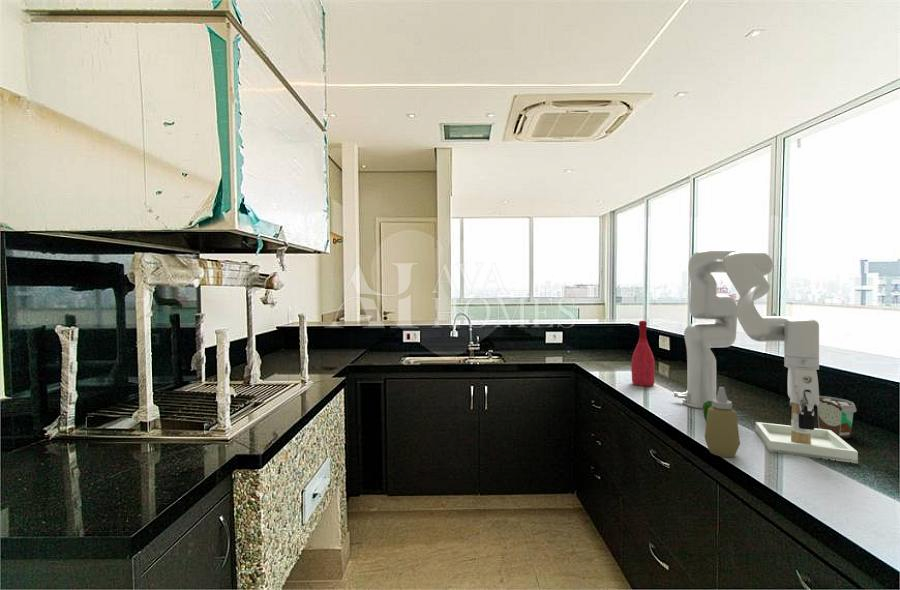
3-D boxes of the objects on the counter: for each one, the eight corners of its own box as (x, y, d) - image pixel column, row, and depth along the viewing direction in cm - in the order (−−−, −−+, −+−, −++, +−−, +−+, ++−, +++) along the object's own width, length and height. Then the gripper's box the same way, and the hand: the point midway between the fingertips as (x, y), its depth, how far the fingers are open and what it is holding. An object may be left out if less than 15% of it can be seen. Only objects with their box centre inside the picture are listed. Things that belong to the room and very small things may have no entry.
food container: (868, 441, 120) (868, 406, 120) (843, 439, 121) (843, 405, 121) (837, 427, 132) (837, 396, 132) (815, 426, 133) (815, 395, 133)
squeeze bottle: (697, 448, 116) (697, 384, 115) (724, 447, 116) (724, 383, 116) (718, 460, 107) (718, 391, 107) (747, 459, 108) (747, 390, 108)
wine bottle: (658, 386, 189) (658, 321, 188) (637, 386, 189) (636, 321, 189) (648, 382, 199) (648, 319, 198) (628, 382, 199) (627, 320, 198)
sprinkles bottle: (794, 438, 120) (795, 392, 120) (814, 443, 116) (815, 396, 116) (787, 441, 118) (788, 395, 117) (807, 447, 114) (808, 398, 113)
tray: (770, 451, 113) (770, 440, 113) (755, 431, 129) (755, 421, 129) (857, 463, 105) (857, 451, 105) (830, 440, 121) (830, 430, 121)
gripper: (830, 368, 107) (830, 436, 107) (807, 358, 123) (807, 417, 123) (793, 366, 111) (794, 432, 111) (776, 357, 126) (776, 414, 126)
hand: (801, 424), depth 117 cm, fingers open, 7 cm apart
